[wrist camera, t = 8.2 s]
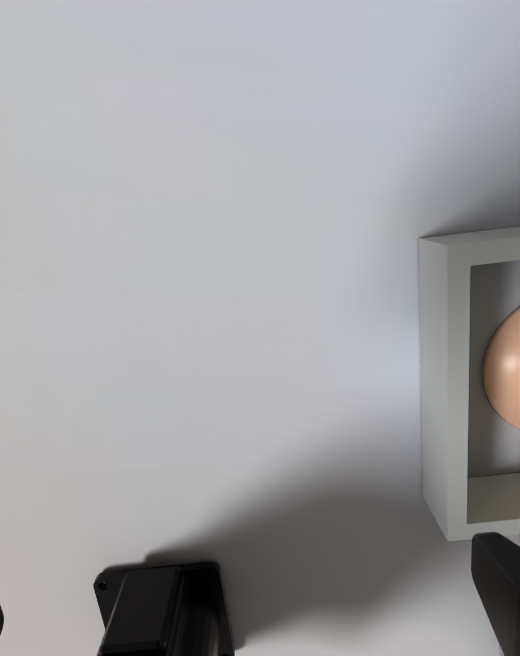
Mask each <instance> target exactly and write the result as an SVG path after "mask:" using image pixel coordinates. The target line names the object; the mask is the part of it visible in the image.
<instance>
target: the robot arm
mask: <svg viewBox="0 0 520 656" xmlns="http://www.w3.org/2000/svg"><path fill="white" fill-rule="evenodd" d="M208 572H213V573H212V574H211V573H208ZM471 572H472V577H473V581H474V584H475V586H476V589H477V591H478V594H479V596H480V598H481V601H482V603H483V606H484V608H485V611H486V613H487V615H488V618H489V620H490V623H491V625H492V627H493V630H494V632H495V635H496V637H497V640H498V642H499V644H500V647H501V649H502V652H503V654H504V656H520V546H518V545H517V544H515V543H513V542H512V541H510V540H509V539H507V538H506V537H504V536H503V535H501V534H500V533H497V532H483V533H476V534H474V535H473V537H472V555H471ZM102 582H103V583H102ZM104 583H106V584H104ZM94 590H95V594H96V598H97V601H98V605H99V608H100V612H101V615H102V619H103V623H104V626H105V630H106V631H105V634H104V636H103V639H102V642H101V645H100V648H99V651H98V653H97V656H235V647H234V641H233V635H232V630H231V624H230V618H229V613H228V607H227V601H226V596H225V590H224V584H223V579H222V573H221V568H220V566H219V565H218V564H217V563H215V562H202V563H192V564H181V565H171V566H161V567H151V568H141V569H131V570H121V571H111V572H103V573H100V574H99V575H98V576H97V577H96V580H95V582H94ZM3 624H4V615H3V611H2V608H1V606H0V634H1V632H2V628H3Z"/></svg>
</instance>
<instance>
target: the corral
mask: <svg viewBox="0 0 520 656" xmlns="http://www.w3.org/2000/svg"><path fill="white" fill-rule="evenodd" d="M516 260H520V226H517V227H509V228H501V229H492V230H484V231H476V232H467V233H459V234H450V235H442V236H434V237H425V238H418V268H419V324H420V380H421V435H422V491H423V498H424V500H425V502H426V504H427V505H428V507H429V509H430V511H431V513H432V514H433V516H434V518H435V520H436V522H437V524H438V525H439V527H440V529H441V531H442V533H443V534H444V536H445V538H446V540H447V542H450V541H460V540H470V539H472V537H473V535H474V534H476V533H483V532H497V533H500V534H501V535H503V536H511V535H520V473H511V474H501V475H491V476H482V477H472V478H467V466H468V400H469V333H470V266H473V265H482V264H490V263H499V262H507V261H516ZM483 383H484V388H485V392H486V394H487V397H488V399H489V401H490V403H491V405H492V406H493V408H494V409H495V410H496V411H497V413H498V414H499V415H500V416H502V417H503V418H504V419H505V420H506V421H507V422H508V423H510V424H511V425H513V426H514V427H516V428H518V429H520V306H519V307H518V308H517V309H515V310H514V311H513V312H512V313H511V314H510V315H509V316H508V317H507V318H506V319H505V320H504V321H503V323H502V324H501V325H500V326H499V328H498V329H497V331H496V332H495V334H494V336H493V337H492V339H491V341H490V343H489V346H488V348H487V351H486V354H485V359H484V364H483Z"/></svg>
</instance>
